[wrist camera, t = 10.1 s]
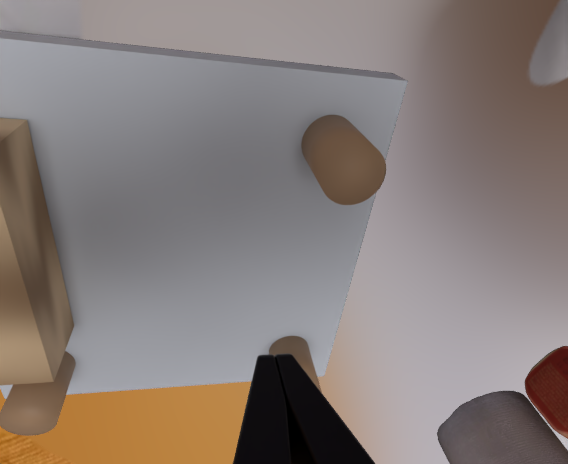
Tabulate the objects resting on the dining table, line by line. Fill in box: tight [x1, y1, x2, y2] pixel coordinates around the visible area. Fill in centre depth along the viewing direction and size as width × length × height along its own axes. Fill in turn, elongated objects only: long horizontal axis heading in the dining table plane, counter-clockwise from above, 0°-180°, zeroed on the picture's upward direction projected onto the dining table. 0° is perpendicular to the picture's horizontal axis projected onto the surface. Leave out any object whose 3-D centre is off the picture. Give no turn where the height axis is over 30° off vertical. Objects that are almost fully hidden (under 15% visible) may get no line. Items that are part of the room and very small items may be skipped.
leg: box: [0, 118, 74, 385], centre depth 16 cm, size 11×2×4 cm, turn 173°
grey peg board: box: [0, 31, 408, 435], centre depth 19 cm, size 20×20×5 cm
